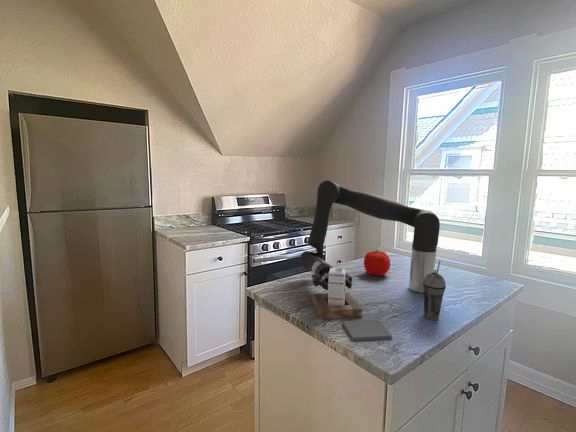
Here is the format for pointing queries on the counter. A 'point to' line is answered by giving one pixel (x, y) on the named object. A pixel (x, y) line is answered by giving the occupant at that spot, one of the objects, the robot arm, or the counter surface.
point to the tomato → (376, 263)
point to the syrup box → (336, 287)
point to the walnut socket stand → (337, 307)
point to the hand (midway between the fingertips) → (338, 286)
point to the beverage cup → (433, 294)
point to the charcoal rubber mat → (366, 330)
